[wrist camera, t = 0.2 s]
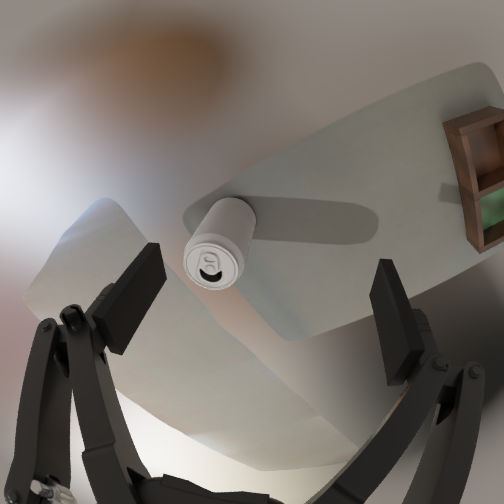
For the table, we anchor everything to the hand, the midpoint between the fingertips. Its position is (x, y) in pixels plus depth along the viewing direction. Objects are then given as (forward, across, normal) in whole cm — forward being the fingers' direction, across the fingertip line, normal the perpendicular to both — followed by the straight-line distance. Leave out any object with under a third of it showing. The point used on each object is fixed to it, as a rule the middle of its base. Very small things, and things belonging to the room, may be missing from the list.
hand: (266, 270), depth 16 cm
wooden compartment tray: (+21, +29, +3) cm, 36 cm away
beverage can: (+21, -7, -7) cm, 23 cm away
